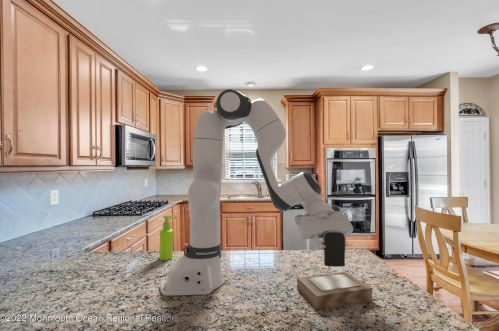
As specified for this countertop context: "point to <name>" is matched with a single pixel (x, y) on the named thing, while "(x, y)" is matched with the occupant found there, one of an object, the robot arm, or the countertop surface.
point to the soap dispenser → (166, 240)
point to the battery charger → (334, 248)
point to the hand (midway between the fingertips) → (334, 247)
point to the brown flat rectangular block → (333, 290)
